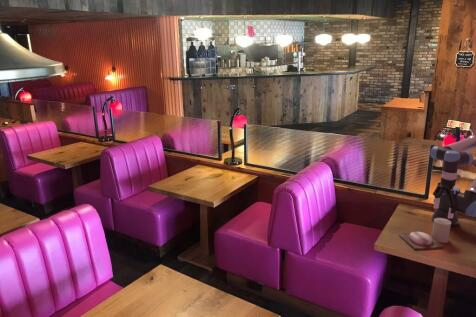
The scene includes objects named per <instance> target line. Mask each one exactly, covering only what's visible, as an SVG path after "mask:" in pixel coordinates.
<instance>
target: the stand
mask: <svg viewBox="0 0 476 317" xmlns="http://www.w3.org/2000/svg"><path fill="white" fill-rule="evenodd" d="M398 236H399V237H400V239H402V240H403V241H404V242H405V243H406V244H407V245H408V246H410V248H412V250H414V251H420V250H421V251H422V250H424V251H425V250H437V249H444V246H443V245H442V244H441V243H440V242H437V241H435V240H434V239H433V238H432V235H430V234H428V233H427V232H422V231H412V232H410V233H402V234H401V233H400V234H399V235H398Z"/></svg>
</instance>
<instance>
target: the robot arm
mask: <svg viewBox="0 0 476 317" xmlns="http://www.w3.org/2000/svg"><path fill="white" fill-rule="evenodd" d="M472 150H473V151H476V133H474V134H471V135H468V136H467V137H466V138H463V139H461V140H459V141H456V142H452V143H450V144H447V145H445V146H439V145H438V146H437V145H434V146H433V147H432V148H431V149H430V152H429V153H430V157H431V159H435V160H437V161H441V162H443V164H442V170H441V171H442V172H441V177H440V182H437V186H436V187H435V189H434V190H433V192H432V196H434V200H433V202H434V203H433V209H435V210H434V212H433V214H432V215H431V221H432V222H433V223H434V219H435V218H444V219H447V220H449V221H451V227H455V226H457V225H458V224H459V218H458V213H457V212H459V213H462V214H465V215H466V216H470V217H473V218H476V177H475V178H474V180H473V181H472V183H471V185H470V187H469V188H468V189H465V190H464V192H461V188H459V187H457V186H456V184H457V183H456V182H457V176H458V170H459V168H460V167H465V166H468V165H471V164H472V163H473V162H474V156H473V154H472V153H471V152H470V151H472Z"/></svg>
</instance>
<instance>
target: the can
mask: <svg viewBox="0 0 476 317" xmlns="http://www.w3.org/2000/svg"><path fill="white" fill-rule="evenodd" d="M451 227H452V226H451V221H449V220H447V219H444V218H435V219H434V222H433V225H432V234H431V236H432V238H433V239H434V240H435V241H437V242H438V243H440V244H441V243H443V244H444V243H445V244H446V243H448V242H449V238H450V231H451Z"/></svg>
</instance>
